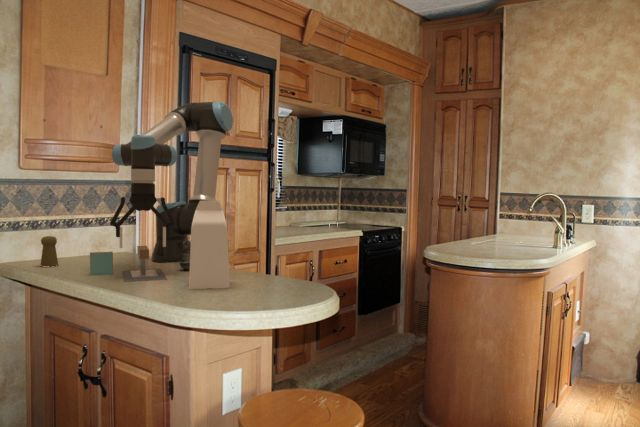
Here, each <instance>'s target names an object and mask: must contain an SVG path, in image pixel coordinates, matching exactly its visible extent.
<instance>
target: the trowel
mask: <svg viewBox="0 0 640 427" xmlns="http://www.w3.org/2000/svg"><path fill="white" fill-rule="evenodd" d="M136 250H137V252H136V253H137V257H138V259H139V261H140V262H139V265H140V266H139V268H140V269H135V270H136V271H130V274H131V277H132V279H145V278H158V274H157V272H156V271H155V270H148V269H147V268H146V267H147V266H146V263H147V262H146V260H147V259H149V260H150V249H149V247H148V245H137V249H136Z"/></svg>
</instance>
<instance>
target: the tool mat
mask: <svg viewBox="0 0 640 427" xmlns="http://www.w3.org/2000/svg"><path fill="white" fill-rule="evenodd" d="M136 270H137V269H132V270H131V269H130V270H129V269H128V270H122V271H121V272H122V277H123V282H124V283H131V282H150V281H166V280H167V281H168V280H169V279H168V278H167V277H166V274H165V273H164V272H163V270H162V269H161V268H153V269H147V270H155V271H156V272H157V274H158V278H145V279H132V277H131V274H130V271H136Z"/></svg>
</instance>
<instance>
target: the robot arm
mask: <svg viewBox="0 0 640 427" xmlns="http://www.w3.org/2000/svg"><path fill="white" fill-rule="evenodd" d="M233 118H234V117H233V113H232V111H231V108H230V106H229V105H228V104H227V103H226V102H224V101H204V102H201V101H200V102H188V103H185V104H183V105H180V106H178V107H177V108H175V109H172V110H171V111H170V112H168V113H167V114H165V116H164V118H163V119H162V120H161V121H159V122H158V123H156V124H154V126H151V128H149V129H147V130H145V131H144V132H143V133H142V134H135V135H133V136H131V140H130V141H129V142H128V143H120V144H115V145H114V147H113V148H112V150H111V159H112V161H113V162H114V164H115V165H117V166H123V167H130V181H131V182H132V183H131V184H130V197H124V196H121V197H120V203H119V205H118V207H117V209H116V210H115V213H114V215H113V216H112V219H111V220H110V222H109V225H110V226H111V227H115V237H116V238H119V248H120V249H123V227H122V225H123V224H124V223H125V221H126V220H127V219H128V218H129V217H130V216H131V215H132V213H134V211H138V212H141V211H143V212H144V211H145V212H149V211H151V212H152V213H154V215H155V220H156V221H155V224H156V226H155V228H156V229H155V232H156V234H155V235H156V236H155V238H156V241H155V243H154V247H153V251H152V253H151V261H152V262H155V263H179V261H181V260H182V258H183V252H182V250H183V242H184V241H186V240H187V239H186V238H187V236H189V235H190V236H191V226H192V221H193V218H194V214H195V210H196V208H197V206H198V204H199V201H218V200H217V199H216V196H217V194H216V193H217V184H218V174H219V165H220V158H221V157H220V156H221V145H222V141H223V140H224V139H225V138H226V135H227V132H229V131H231V130H232V128H233V124H234V121H233V120H234V119H233ZM189 132H196V135H197V136H198V138H199V141H198V149H197V156H196V157H197V158H196V168H195V178H194V186H193V193H192V194H193V195H192V196H190V198H189V199H188V202H186V201H176V202H167V203H166V198H165V197H163V196H162V197H158V198H157V197H156V184H155V182H156V167H172V166H173V165H175V164H176V162H177V160H178V152H177V148H175V147H174V146H172V145H170V144H169V145H168V144H167V143H168V142H169V141H170V140H172V139H173V138H175V137H176V136H182V135H183V134H184V133H189ZM128 203H130V204H131V205H132V206H131V207H130V208H129V210H128V211H126V213H125V214H124V215H123V216H122V217H121V218H120V219H119V221H117V219H118V217H119V216H120V214H121V212H122V210H123V208H124V206H125V205H127V204H128ZM157 203H158V205H157V206H156V207H155V204H157ZM187 203H188V204H187ZM116 221H117V222H116Z"/></svg>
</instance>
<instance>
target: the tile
mask: <svg viewBox="0 0 640 427" xmlns="http://www.w3.org/2000/svg"><path fill="white" fill-rule="evenodd" d="M113 261H114V251H93V252H92V251H90V252H89V270H90V271H89V274H90V276H102V275H113V274H114V262H113Z"/></svg>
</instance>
